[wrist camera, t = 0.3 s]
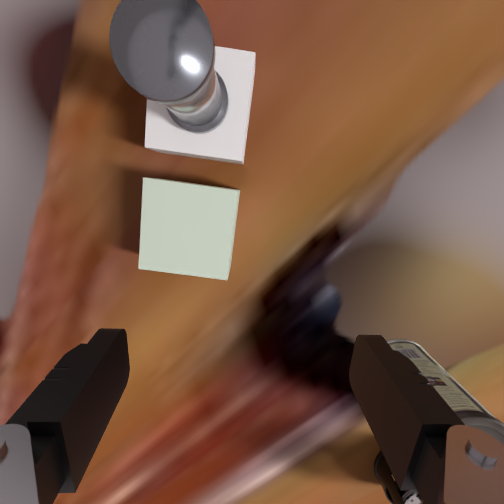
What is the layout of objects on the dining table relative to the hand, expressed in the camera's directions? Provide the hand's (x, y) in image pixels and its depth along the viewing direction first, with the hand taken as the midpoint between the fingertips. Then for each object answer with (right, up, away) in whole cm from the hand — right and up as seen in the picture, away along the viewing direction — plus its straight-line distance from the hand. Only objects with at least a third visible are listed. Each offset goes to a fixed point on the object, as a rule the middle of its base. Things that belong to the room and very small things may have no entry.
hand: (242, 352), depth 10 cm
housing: (-5, +18, +18) cm, 26 cm away
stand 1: (-5, +19, +23) cm, 31 cm away
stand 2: (-7, +7, +26) cm, 28 cm away
